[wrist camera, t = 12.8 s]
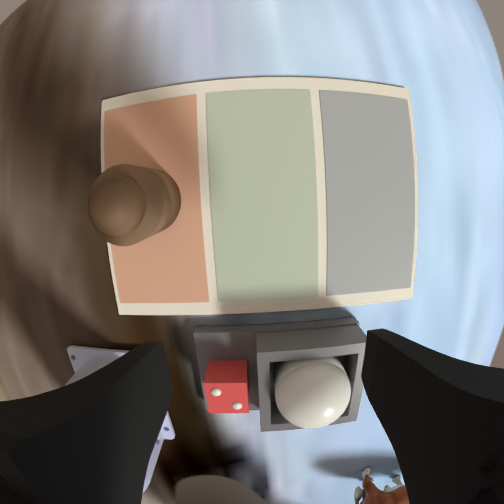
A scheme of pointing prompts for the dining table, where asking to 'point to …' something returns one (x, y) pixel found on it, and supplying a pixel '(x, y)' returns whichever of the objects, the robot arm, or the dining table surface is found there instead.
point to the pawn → (132, 203)
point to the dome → (311, 391)
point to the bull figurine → (380, 492)
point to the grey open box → (272, 363)
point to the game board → (269, 195)
